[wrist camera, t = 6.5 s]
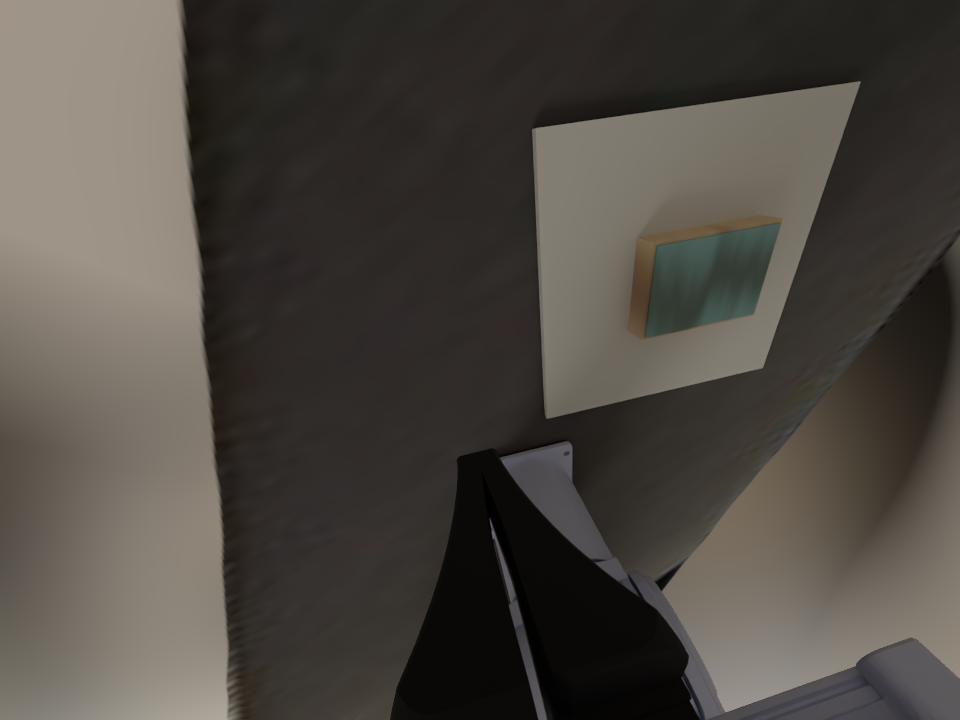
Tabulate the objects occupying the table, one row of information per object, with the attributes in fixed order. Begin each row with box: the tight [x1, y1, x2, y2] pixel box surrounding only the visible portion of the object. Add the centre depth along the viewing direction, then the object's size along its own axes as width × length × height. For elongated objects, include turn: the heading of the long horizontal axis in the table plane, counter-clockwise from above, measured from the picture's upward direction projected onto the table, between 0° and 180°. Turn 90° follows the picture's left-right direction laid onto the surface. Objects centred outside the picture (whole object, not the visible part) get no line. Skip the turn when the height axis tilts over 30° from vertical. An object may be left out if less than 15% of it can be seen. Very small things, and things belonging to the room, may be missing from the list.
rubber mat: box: [532, 81, 861, 419], centre depth 22 cm, size 18×18×1 cm
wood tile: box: [628, 215, 783, 340], centre depth 21 cm, size 6×2×8 cm
